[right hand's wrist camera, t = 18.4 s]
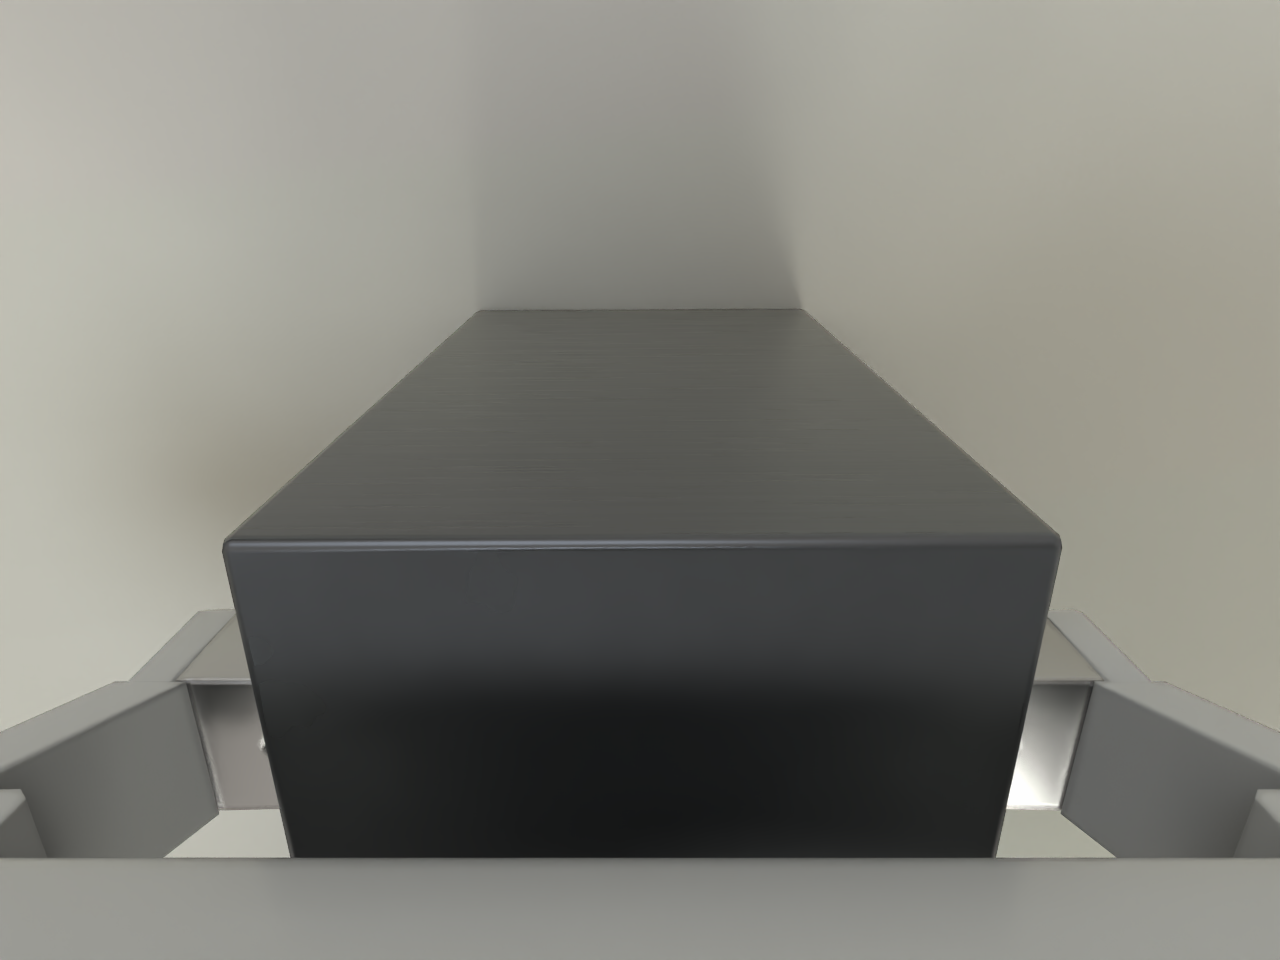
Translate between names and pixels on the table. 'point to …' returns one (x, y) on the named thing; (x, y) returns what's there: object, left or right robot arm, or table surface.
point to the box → (642, 605)
